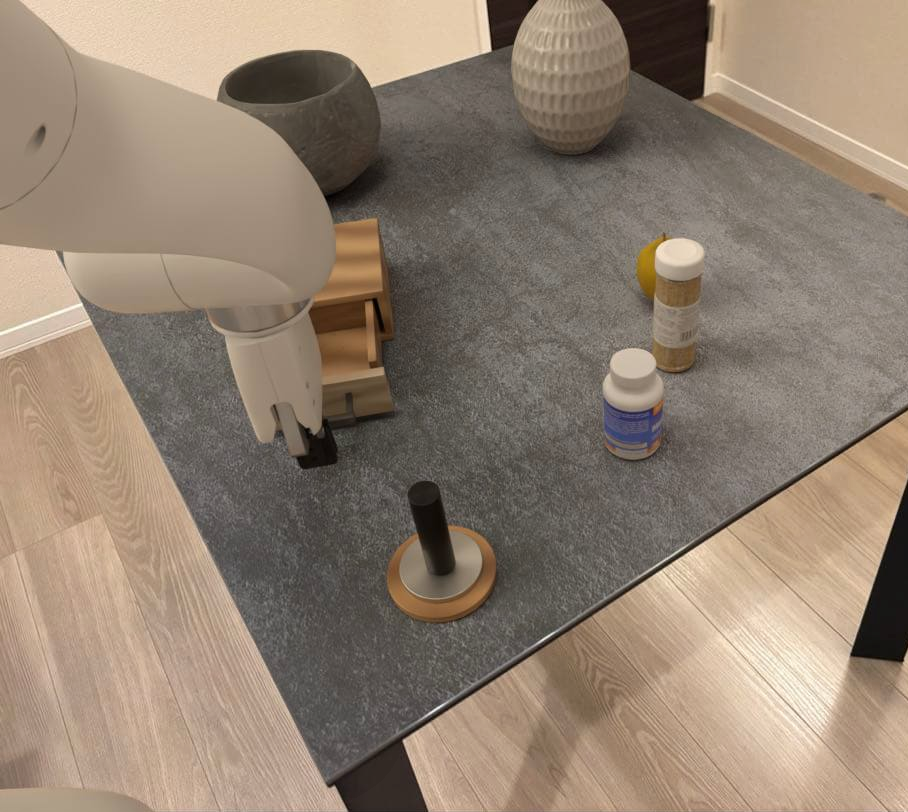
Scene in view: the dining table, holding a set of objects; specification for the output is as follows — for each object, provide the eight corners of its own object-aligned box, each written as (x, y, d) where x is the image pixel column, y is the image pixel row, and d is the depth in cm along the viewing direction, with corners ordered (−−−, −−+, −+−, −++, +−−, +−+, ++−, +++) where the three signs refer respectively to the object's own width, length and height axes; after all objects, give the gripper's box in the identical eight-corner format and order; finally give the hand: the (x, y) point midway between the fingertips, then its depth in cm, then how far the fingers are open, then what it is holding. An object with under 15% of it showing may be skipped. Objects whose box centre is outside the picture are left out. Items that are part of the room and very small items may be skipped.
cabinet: (394, 339, 90) (383, 290, 86) (269, 359, 89) (250, 311, 85) (387, 264, 101) (377, 217, 96) (275, 282, 100) (258, 235, 95)
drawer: (396, 441, 78) (386, 405, 75) (263, 464, 77) (247, 428, 74) (386, 326, 91) (378, 291, 87) (272, 344, 90) (259, 309, 86)
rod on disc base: (488, 594, 66) (474, 520, 59) (403, 611, 65) (379, 537, 58) (477, 527, 70) (463, 451, 64) (398, 542, 70) (375, 466, 63)
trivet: (504, 610, 65) (504, 605, 65) (391, 633, 65) (389, 627, 64) (489, 522, 72) (488, 516, 71) (385, 541, 71) (384, 535, 70)
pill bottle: (663, 461, 76) (668, 383, 69) (604, 462, 76) (603, 385, 69) (658, 418, 79) (662, 341, 73) (601, 420, 80) (601, 343, 73)
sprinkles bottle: (681, 340, 87) (690, 231, 78) (703, 367, 84) (715, 256, 75) (642, 352, 86) (647, 243, 77) (662, 379, 83) (669, 269, 74)
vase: (502, 165, 117) (485, -1, 101) (536, 114, 128) (526, -43, 112) (614, 176, 113) (615, 5, 97) (639, 123, 124) (643, -40, 108)
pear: (659, 276, 96) (662, 215, 90) (704, 298, 92) (710, 237, 87) (622, 301, 93) (623, 240, 87) (667, 325, 89) (671, 263, 84)
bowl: (227, 169, 121) (191, 67, 110) (364, 132, 127) (341, 31, 116) (261, 237, 107) (223, 127, 96) (412, 192, 113) (392, 84, 102)
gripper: (212, 239, 64) (279, 408, 76) (190, 366, 53) (272, 536, 66) (311, 224, 64) (360, 394, 77) (307, 347, 54) (366, 519, 67)
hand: (319, 459), depth 71 cm, fingers closed
